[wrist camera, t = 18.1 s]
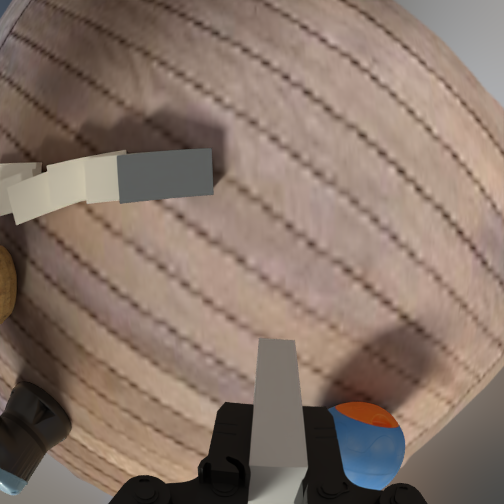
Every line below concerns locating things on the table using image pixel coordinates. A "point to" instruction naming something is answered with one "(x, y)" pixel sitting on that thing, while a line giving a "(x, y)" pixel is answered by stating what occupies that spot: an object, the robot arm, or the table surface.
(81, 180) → the domino
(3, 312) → the potato
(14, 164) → the domino
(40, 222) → the table surface
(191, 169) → the domino
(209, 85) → the table surface
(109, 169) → the domino
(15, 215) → the domino
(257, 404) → the robot arm
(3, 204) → the domino
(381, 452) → the treat dispenser ball
